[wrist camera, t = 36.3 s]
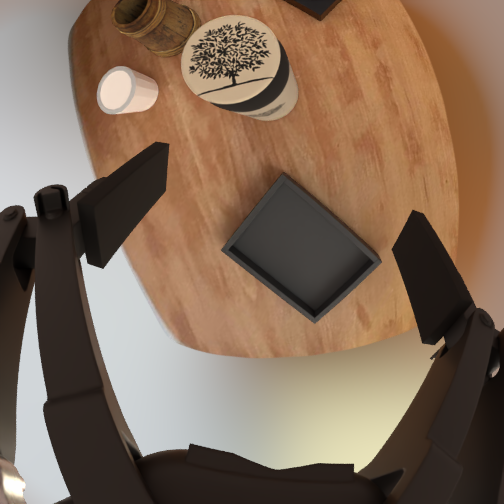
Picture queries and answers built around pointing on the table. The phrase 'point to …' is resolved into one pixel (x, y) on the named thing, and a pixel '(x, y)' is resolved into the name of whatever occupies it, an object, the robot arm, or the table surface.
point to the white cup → (126, 91)
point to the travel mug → (240, 68)
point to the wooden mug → (156, 24)
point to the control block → (315, 7)
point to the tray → (301, 250)
